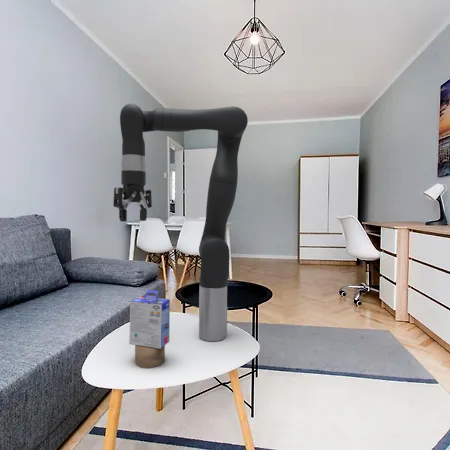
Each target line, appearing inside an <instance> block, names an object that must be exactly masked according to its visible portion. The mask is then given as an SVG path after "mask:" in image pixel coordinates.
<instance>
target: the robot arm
mask: <svg viewBox="0 0 450 450" xmlns="http://www.w3.org/2000/svg"><path fill="white" fill-rule="evenodd" d="M248 120H249V117H248V115H247V114H246V112H245V111H244V110H243V109H242V108H241V107H238V106H224V107H216V108H205V109H204V108H203V109H202V108H201V109H186V108H185V109H183V108H180V109H179V108H169V107H167V108H166V107H160V108H159V107H157V108H155V109H154V110H142V108H141V107H140V106H138V105H137V104H134V103H127V104H125V105H124V106H123V107H122V108H121V110H120V114H119V125H120V132H121V133H120V134H121V140H122V145H121V147H122V148H121V151H122V152H121V154H122V155H121V163H120V164H121V165H120V166H121V168H120V169H121V175H120V176H121V177H120V178H121V179H120V181H121V185H122V187H114V189H113V207H114V208H116V209H118V212H119V213H118V218H119V221H120V222H123V223H124V222H127V221H128V218H127V217H128V214H127V213H128V210H127V208H128V207H129V205H131V203H136V205H138V207H139V208H140V209H139V221H141V222H145V221H147V218H148V209H149V208H152V207H153V206H152V205H153V200H152V190H151V189H145V186H146V184H147V172H146V171H147V168H146V167H147V164H146V144H145V142H146V141H145V139H144V133H148V132H156V131H157V132H159V131H160V132H168V133H169V132H171V133H172V132H174V133H179V132H180V133H182V132H189V131H198V130H199V131H200V130H210V131H217V142H216V153H215V157H214V160H213V164H212V167H211V173H210V176H209V180H208V181H209V183H208V189H207V198H206V212H205V223H204V226H203V231H202V235H201V240H200V243H199V247H198V252H199V257H200V275H199V278H198V279H199V292H198V300H199V301H198V337H199V339H200V340H203V341H207V342H219V341H222V340H225V338H226V337H227V333H228V280H229V278H230V277H229V276H230V275H229V274H230V259H231V258H230V256H231V255H230V254H231V253H230V247H229V245H228V243H227V242H226V228H227V224H228V223H227V222H228V220H229V217H230V215H231V212H232V208H233V206H234V203H235V200H236V195H237V187H238V176H239V173H238V172H239V168H238V167H239V165H238V158H239V156H238V154H239V150H240V146H241V141H242V138H243V135H244V133H245V131H246V128H247V126H248Z"/></svg>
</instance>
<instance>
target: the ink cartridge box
mask: <svg viewBox="0 0 450 450" xmlns="http://www.w3.org/2000/svg"><path fill="white" fill-rule="evenodd" d="M149 294H155V295H149ZM158 296H159V290H152V289H147V290H146V292H145V296H139V297H136V298H134V299H132V300H130V301H129V343H128V344H129V345H132V346H135V345H139V346H146V347H153V348H162V347H163V346H165V347H166V345H167V344H169V342H170V314H171V313H170V311H171V309H170V308H171V307H170V305H171V303H170V301H171V300H170V298H160V297H158Z"/></svg>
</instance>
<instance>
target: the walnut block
mask: <svg viewBox="0 0 450 450" xmlns="http://www.w3.org/2000/svg"><path fill="white" fill-rule="evenodd" d="M165 347H166V345H165V346H163V347H162V348H153V347H146V346H139V345H134V364H135V365H136V366H137V367H138V368H142V369H152V368H157V367H160V366H161V365H163V364H164V362H165V360H166V358H165V357H166V355H165V354H166V352H165V351H166V349H165Z"/></svg>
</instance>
